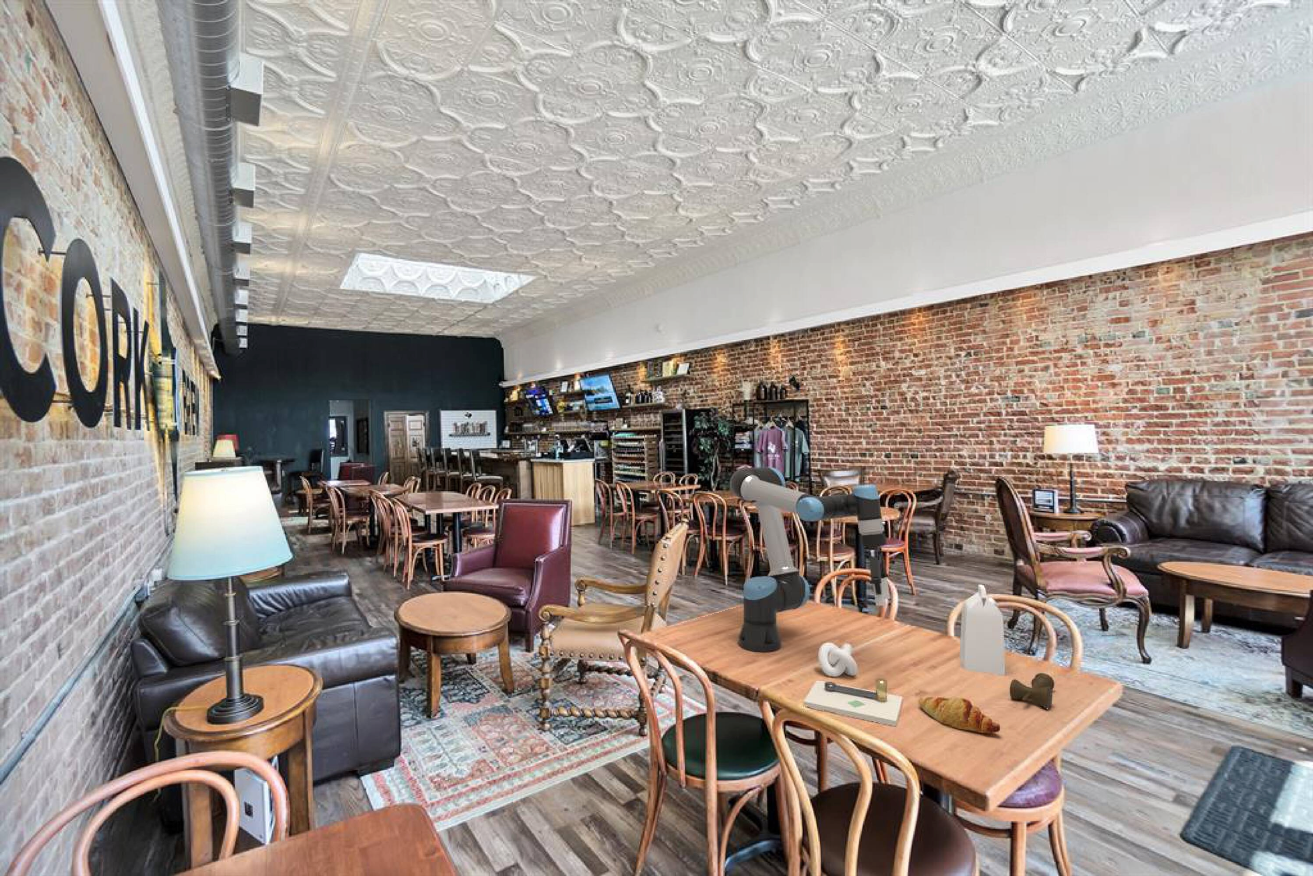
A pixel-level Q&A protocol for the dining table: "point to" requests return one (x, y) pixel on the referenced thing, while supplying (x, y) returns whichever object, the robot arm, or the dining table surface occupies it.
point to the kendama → (1034, 690)
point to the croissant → (958, 714)
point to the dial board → (855, 704)
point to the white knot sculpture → (837, 660)
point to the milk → (982, 635)
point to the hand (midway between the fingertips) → (883, 602)
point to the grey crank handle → (879, 694)
